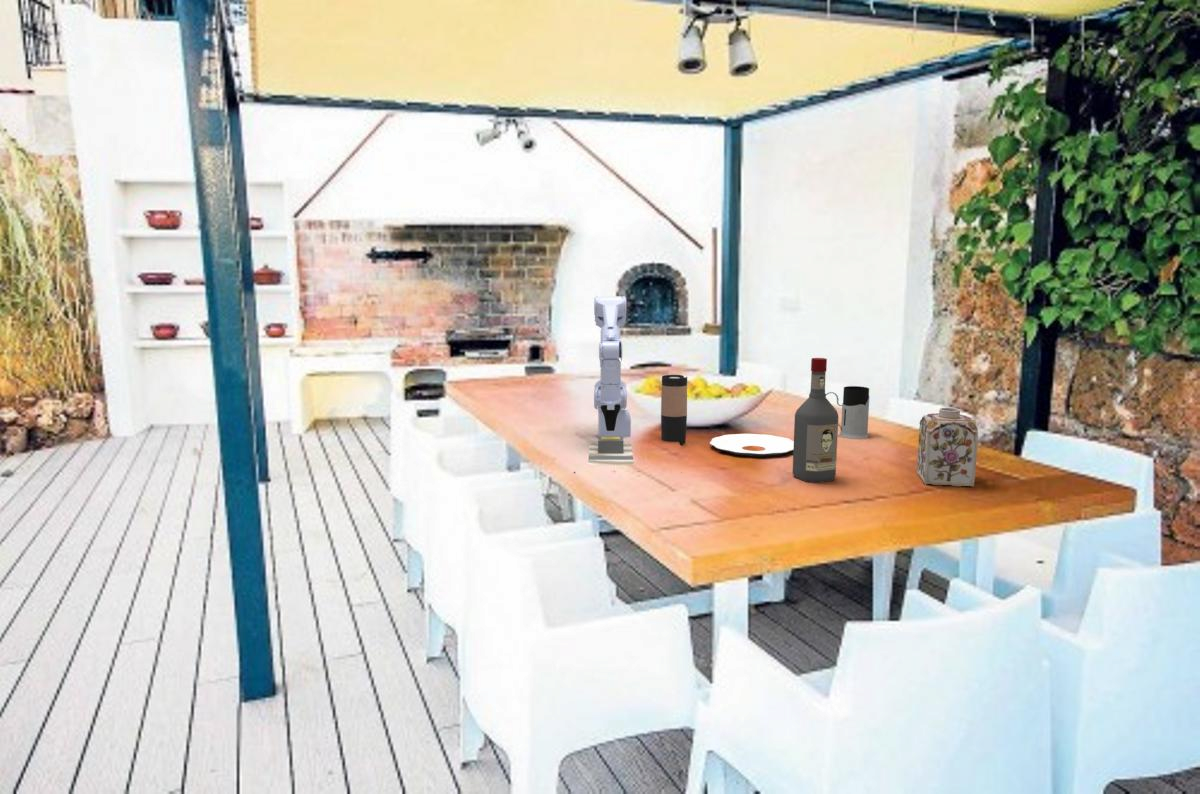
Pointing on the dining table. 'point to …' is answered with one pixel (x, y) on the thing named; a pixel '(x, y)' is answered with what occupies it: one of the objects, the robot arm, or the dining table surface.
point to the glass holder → (854, 412)
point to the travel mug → (674, 408)
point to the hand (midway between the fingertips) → (610, 430)
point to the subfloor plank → (594, 452)
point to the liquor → (816, 431)
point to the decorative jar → (947, 448)
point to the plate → (753, 444)
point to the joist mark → (610, 458)
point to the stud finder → (610, 444)
